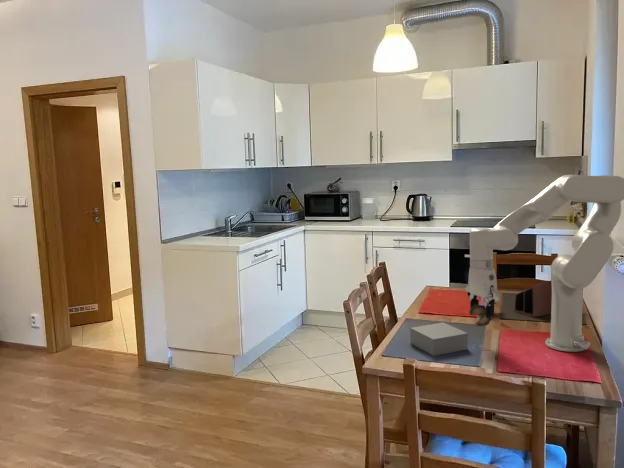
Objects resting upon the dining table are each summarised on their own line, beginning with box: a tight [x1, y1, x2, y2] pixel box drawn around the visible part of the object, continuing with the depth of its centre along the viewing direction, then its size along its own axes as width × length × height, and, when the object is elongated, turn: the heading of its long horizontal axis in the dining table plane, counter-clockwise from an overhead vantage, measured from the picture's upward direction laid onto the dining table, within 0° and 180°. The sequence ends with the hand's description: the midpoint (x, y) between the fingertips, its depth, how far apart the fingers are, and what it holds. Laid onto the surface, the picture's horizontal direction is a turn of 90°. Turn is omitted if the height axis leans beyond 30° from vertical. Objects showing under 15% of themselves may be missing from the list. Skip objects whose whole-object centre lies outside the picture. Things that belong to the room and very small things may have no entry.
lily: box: [479, 297, 500, 318], centre depth 217 cm, size 12×12×10 cm
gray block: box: [409, 322, 469, 357], centre depth 181 cm, size 14×14×6 cm
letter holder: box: [514, 280, 552, 318], centre depth 219 cm, size 10×20×14 cm, turn 117°
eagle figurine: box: [468, 304, 496, 327], centre depth 178 cm, size 8×7×9 cm
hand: (482, 313), depth 180 cm, fingers closed on eagle figurine, 7 cm apart
